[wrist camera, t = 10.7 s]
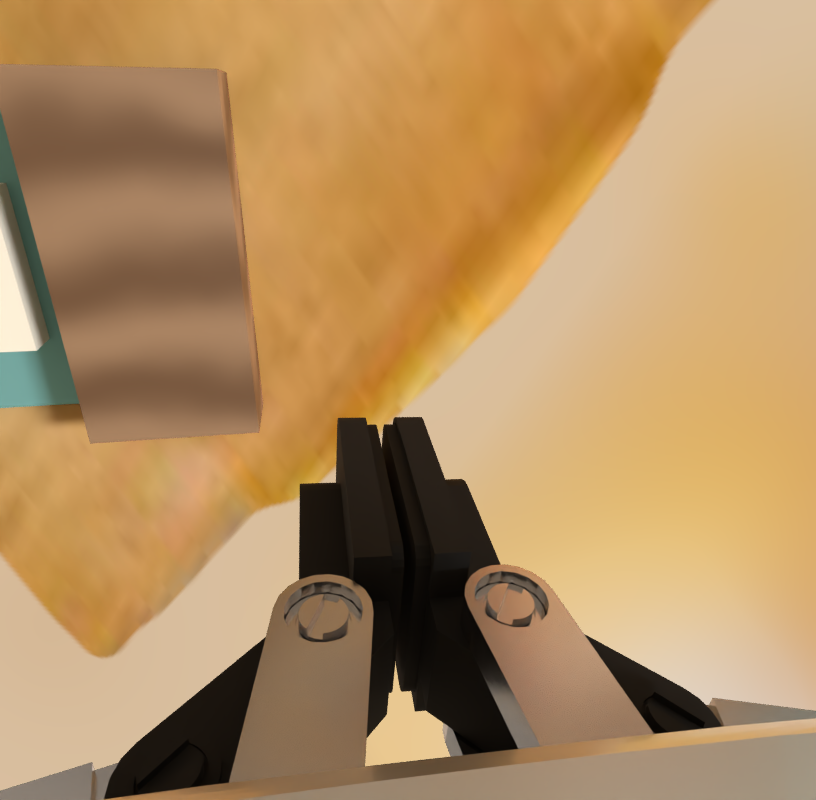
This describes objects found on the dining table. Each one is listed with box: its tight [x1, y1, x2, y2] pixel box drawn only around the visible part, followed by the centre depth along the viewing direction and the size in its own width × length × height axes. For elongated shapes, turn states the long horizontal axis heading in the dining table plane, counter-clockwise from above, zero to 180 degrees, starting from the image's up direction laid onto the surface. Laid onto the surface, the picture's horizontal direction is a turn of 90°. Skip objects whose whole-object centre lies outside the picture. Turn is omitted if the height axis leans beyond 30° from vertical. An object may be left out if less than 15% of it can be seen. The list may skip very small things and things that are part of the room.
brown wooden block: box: [0, 64, 263, 444], centre depth 34 cm, size 20×10×4 cm, turn 179°
